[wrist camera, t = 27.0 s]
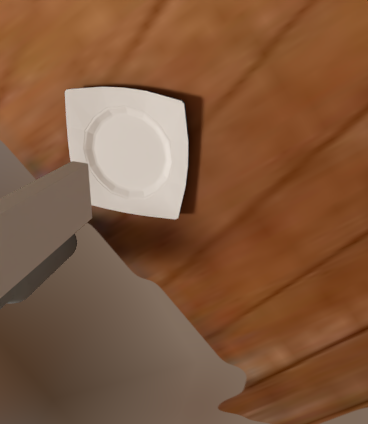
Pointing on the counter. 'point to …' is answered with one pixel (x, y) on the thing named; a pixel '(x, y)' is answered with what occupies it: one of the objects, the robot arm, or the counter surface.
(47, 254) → the robot arm
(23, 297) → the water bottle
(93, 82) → the counter surface
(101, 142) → the plate
